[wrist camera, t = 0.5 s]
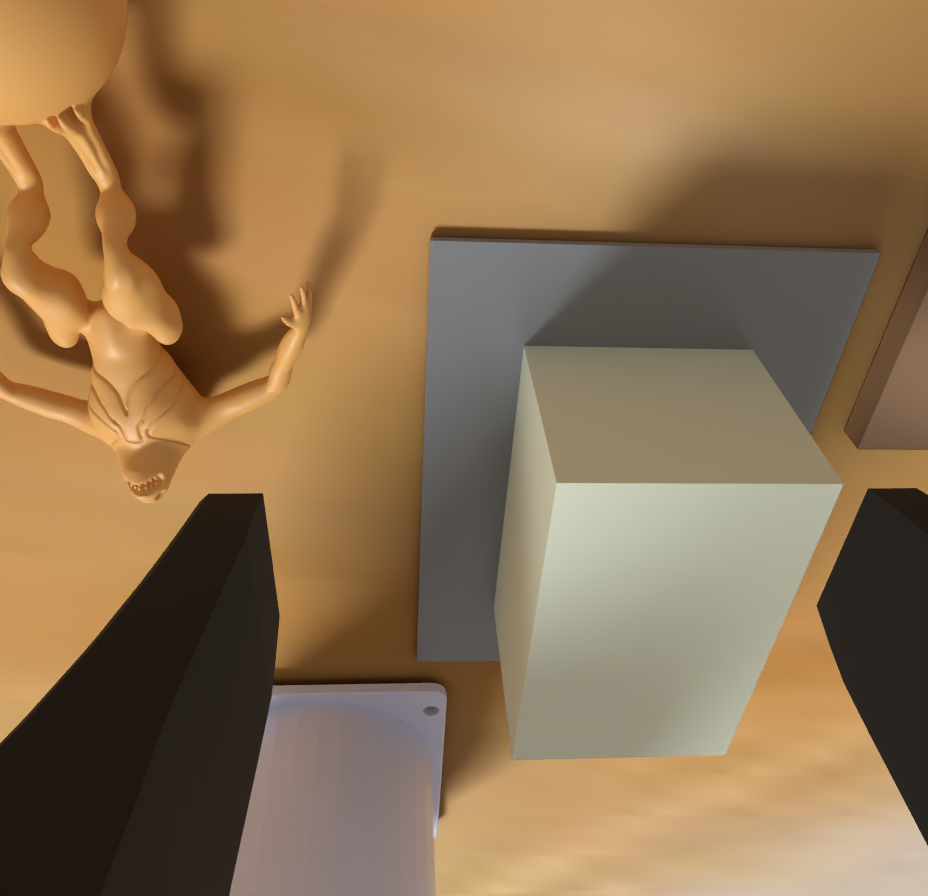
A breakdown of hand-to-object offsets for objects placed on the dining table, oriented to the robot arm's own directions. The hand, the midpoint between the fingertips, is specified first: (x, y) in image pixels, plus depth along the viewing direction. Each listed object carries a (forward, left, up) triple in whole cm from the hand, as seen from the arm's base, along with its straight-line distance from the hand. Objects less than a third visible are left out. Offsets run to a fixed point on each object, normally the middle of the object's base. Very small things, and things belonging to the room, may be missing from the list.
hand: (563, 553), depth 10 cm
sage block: (-7, -4, -9) cm, 12 cm away
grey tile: (-7, -4, -10) cm, 12 cm away
